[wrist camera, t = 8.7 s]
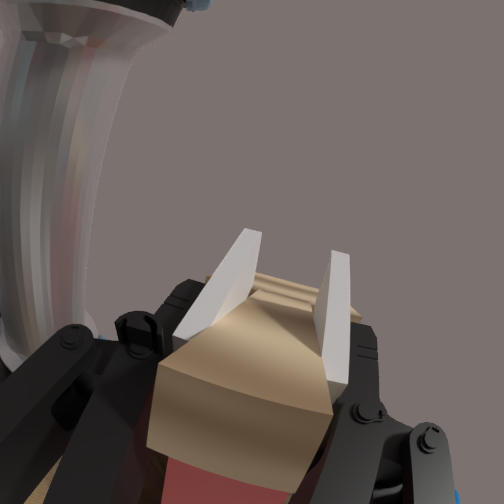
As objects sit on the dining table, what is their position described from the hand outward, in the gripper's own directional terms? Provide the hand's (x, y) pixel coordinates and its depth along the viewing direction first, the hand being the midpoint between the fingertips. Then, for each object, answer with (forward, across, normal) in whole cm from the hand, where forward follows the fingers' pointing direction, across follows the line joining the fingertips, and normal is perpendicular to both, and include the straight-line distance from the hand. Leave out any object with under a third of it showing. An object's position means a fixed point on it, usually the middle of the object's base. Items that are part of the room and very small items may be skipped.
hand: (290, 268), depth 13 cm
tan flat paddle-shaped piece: (+1, 0, -5) cm, 5 cm away
